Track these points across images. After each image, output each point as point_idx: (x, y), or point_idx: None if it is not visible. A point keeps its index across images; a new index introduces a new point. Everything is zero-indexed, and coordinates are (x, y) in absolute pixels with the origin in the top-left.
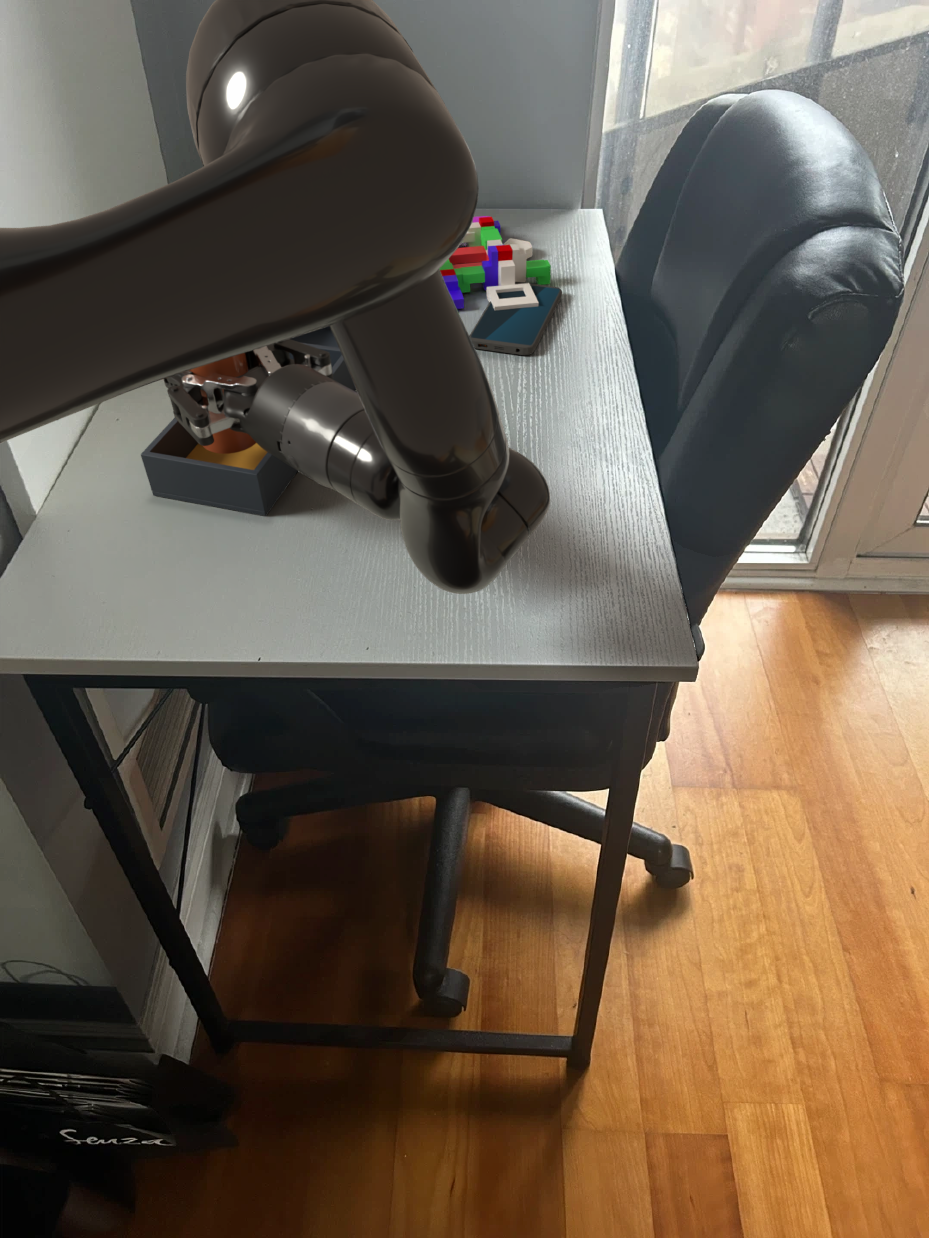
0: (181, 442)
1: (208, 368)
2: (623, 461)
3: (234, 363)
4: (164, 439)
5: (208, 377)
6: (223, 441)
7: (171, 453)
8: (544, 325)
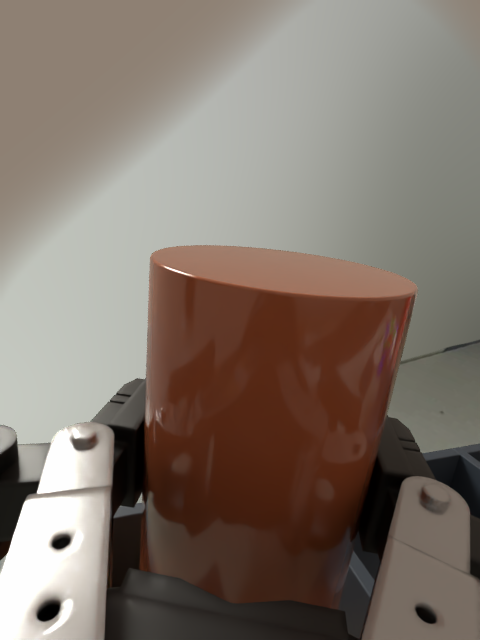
0: None
1: (162, 451)
2: None
3: (267, 502)
4: (127, 522)
5: (111, 484)
6: None
7: (136, 553)
8: None
